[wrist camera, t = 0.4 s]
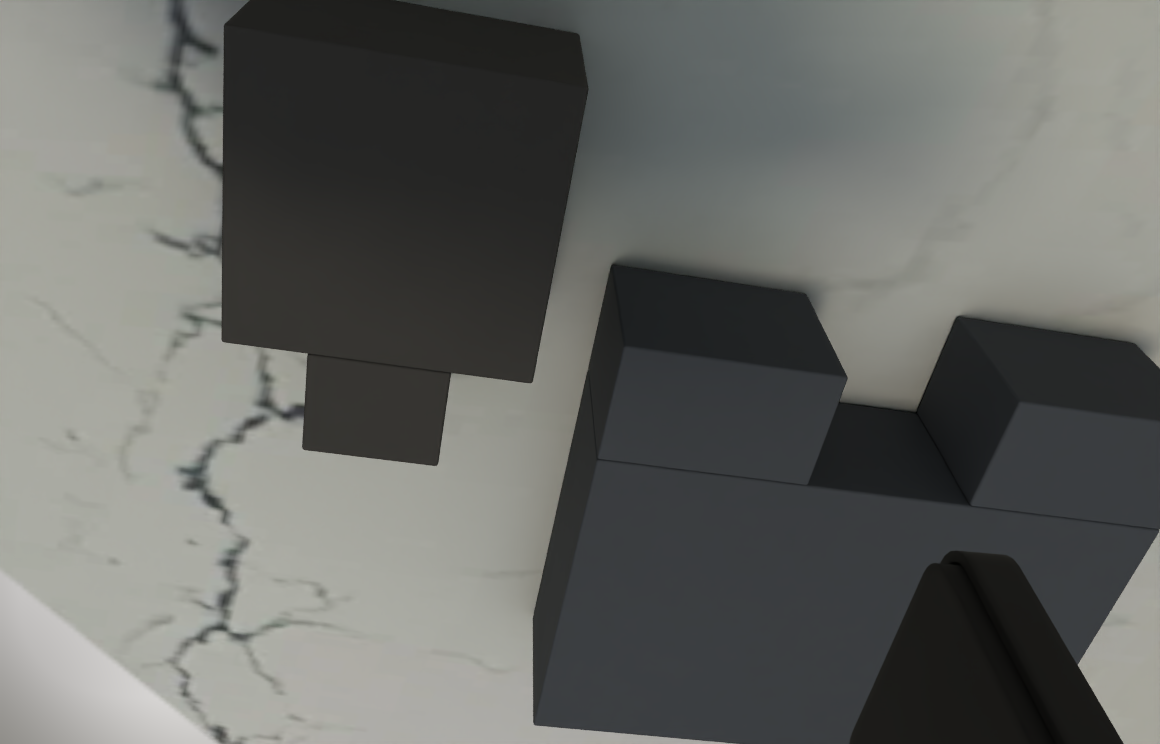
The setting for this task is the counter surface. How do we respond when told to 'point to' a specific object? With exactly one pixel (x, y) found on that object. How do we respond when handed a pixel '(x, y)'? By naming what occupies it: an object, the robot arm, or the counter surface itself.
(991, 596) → the robot arm
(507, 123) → the dark tabbed block
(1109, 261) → the counter surface
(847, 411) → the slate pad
